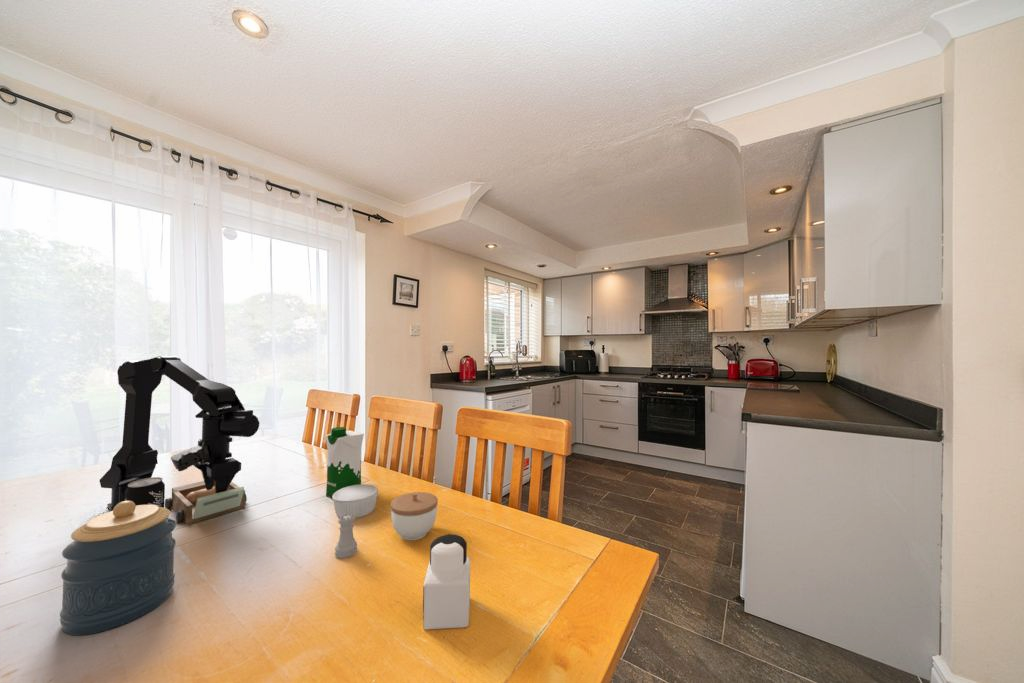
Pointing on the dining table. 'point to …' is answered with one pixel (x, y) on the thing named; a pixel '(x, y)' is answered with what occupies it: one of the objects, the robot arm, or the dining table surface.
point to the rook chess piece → (346, 537)
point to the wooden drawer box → (187, 509)
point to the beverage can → (146, 492)
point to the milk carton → (343, 459)
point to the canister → (117, 568)
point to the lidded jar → (413, 514)
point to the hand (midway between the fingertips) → (214, 493)
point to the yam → (199, 494)
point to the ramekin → (355, 500)
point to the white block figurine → (447, 584)
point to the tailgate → (218, 502)
